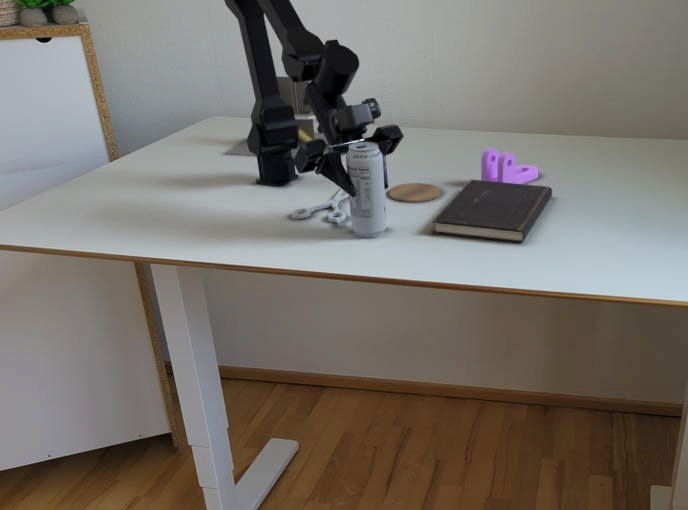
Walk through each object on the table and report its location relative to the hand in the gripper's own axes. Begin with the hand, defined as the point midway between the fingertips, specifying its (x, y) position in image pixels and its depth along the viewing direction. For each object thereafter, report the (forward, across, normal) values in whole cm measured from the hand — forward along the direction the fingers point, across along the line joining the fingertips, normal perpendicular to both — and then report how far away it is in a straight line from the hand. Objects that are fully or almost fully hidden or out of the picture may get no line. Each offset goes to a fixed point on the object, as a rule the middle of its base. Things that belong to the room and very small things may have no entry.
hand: (370, 192), depth 132 cm
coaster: (-4, +18, +14) cm, 23 cm away
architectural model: (-36, +15, +47) cm, 61 cm away
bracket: (0, +38, +10) cm, 39 cm away
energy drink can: (+4, 0, +6) cm, 8 cm away
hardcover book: (+10, +22, +1) cm, 24 cm away
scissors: (-6, +2, +17) cm, 19 cm away
